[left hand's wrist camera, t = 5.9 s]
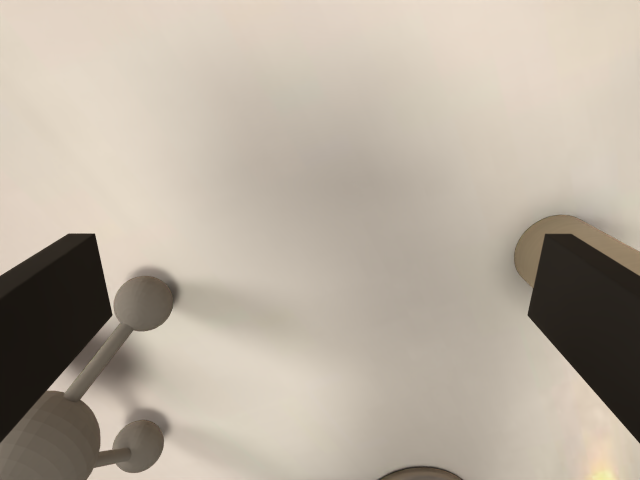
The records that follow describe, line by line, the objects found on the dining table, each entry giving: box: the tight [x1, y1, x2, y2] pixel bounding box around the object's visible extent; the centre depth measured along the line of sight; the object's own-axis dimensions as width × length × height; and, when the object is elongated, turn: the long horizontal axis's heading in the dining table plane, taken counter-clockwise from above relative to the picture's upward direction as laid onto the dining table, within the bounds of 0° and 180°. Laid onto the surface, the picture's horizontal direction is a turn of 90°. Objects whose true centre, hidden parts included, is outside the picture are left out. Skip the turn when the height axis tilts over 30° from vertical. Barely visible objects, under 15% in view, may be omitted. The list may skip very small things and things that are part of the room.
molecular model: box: [0, 276, 173, 480], centre depth 32 cm, size 24×22×30 cm
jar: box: [514, 215, 640, 288], centre depth 34 cm, size 8×8×18 cm
